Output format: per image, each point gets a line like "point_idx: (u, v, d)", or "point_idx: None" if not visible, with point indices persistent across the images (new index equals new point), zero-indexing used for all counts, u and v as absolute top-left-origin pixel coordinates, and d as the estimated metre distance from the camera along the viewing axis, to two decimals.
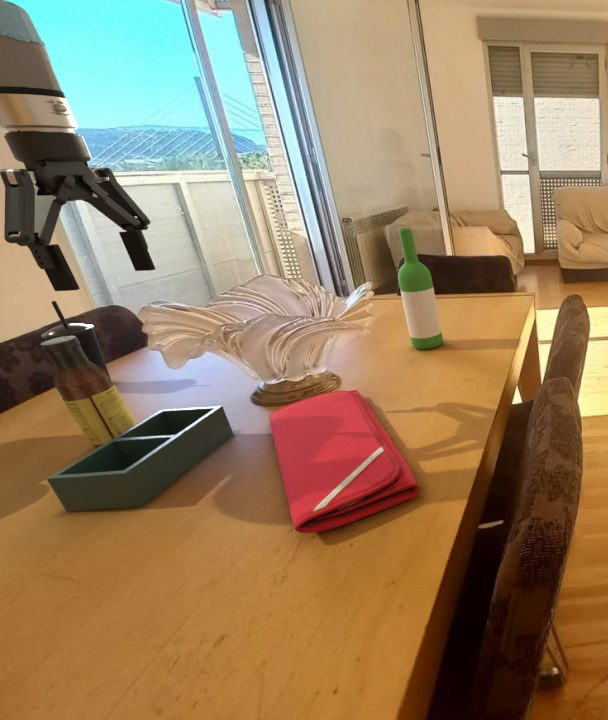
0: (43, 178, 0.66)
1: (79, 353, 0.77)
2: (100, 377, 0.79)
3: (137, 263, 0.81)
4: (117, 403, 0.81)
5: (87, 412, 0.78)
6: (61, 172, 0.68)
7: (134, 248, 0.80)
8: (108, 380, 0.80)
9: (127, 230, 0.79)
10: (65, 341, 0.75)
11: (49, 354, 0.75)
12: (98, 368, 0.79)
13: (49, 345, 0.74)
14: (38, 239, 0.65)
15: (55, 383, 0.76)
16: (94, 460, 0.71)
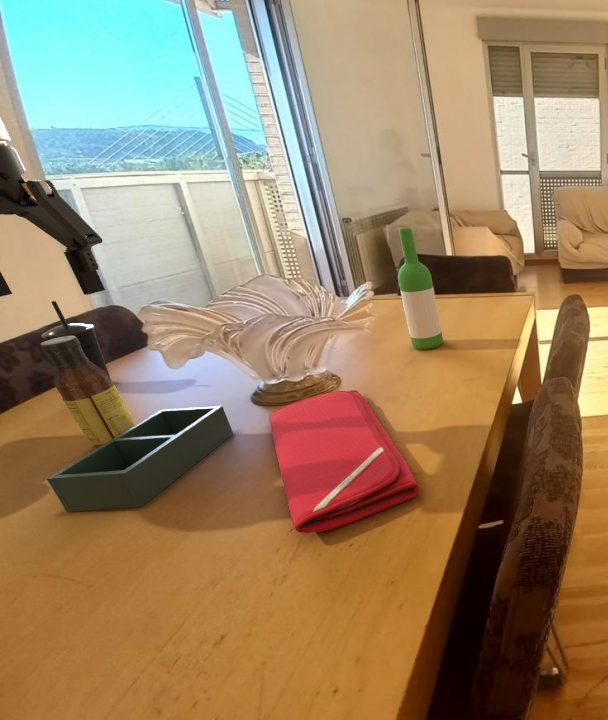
0: None
1: (79, 353, 0.77)
2: (100, 377, 0.79)
3: None
4: (117, 403, 0.81)
5: (87, 412, 0.78)
6: None
7: None
8: (108, 380, 0.80)
9: None
10: (65, 341, 0.75)
11: (49, 354, 0.75)
12: (98, 368, 0.79)
13: (49, 345, 0.74)
14: None
15: (55, 383, 0.76)
16: (94, 460, 0.71)
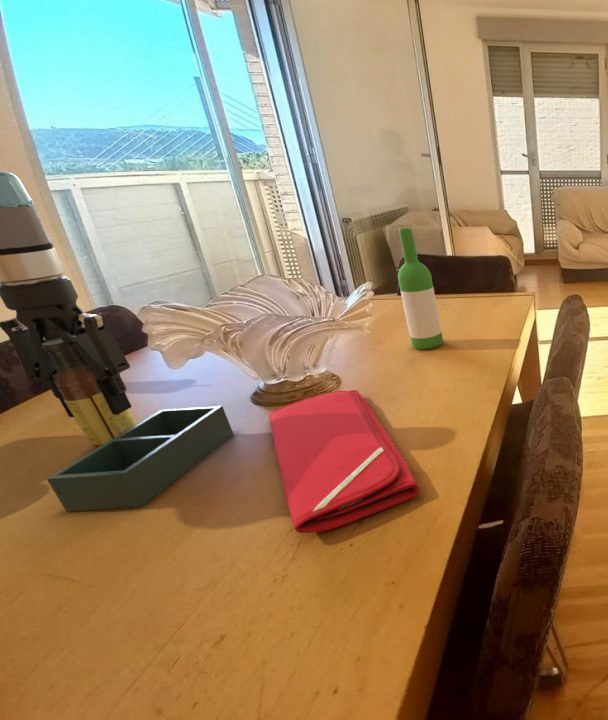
0: None
1: None
2: None
3: None
4: None
5: (87, 412, 0.78)
6: None
7: None
8: None
9: None
10: None
11: (50, 354, 0.75)
12: None
13: (51, 345, 0.74)
14: None
15: (56, 383, 0.76)
16: (94, 460, 0.71)
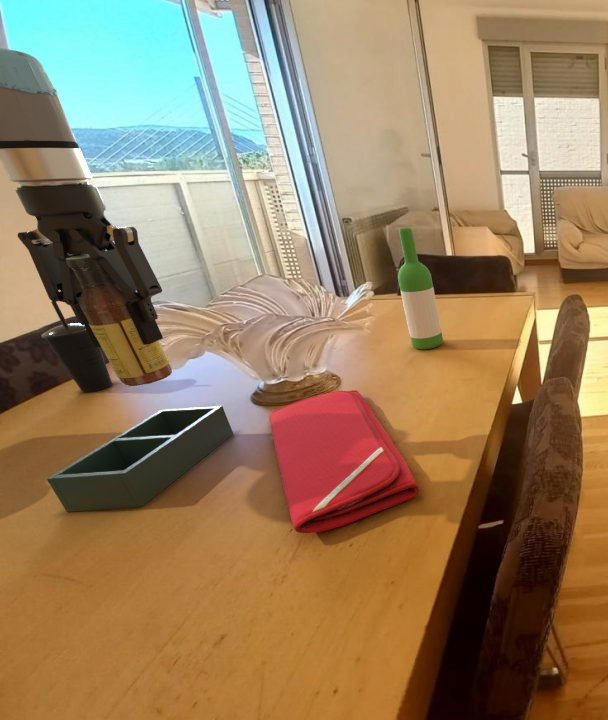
0: None
1: None
2: None
3: None
4: None
5: (116, 340, 0.70)
6: None
7: None
8: None
9: None
10: None
11: (75, 270, 0.67)
12: None
13: (76, 259, 0.66)
14: None
15: (81, 305, 0.68)
16: (94, 460, 0.71)
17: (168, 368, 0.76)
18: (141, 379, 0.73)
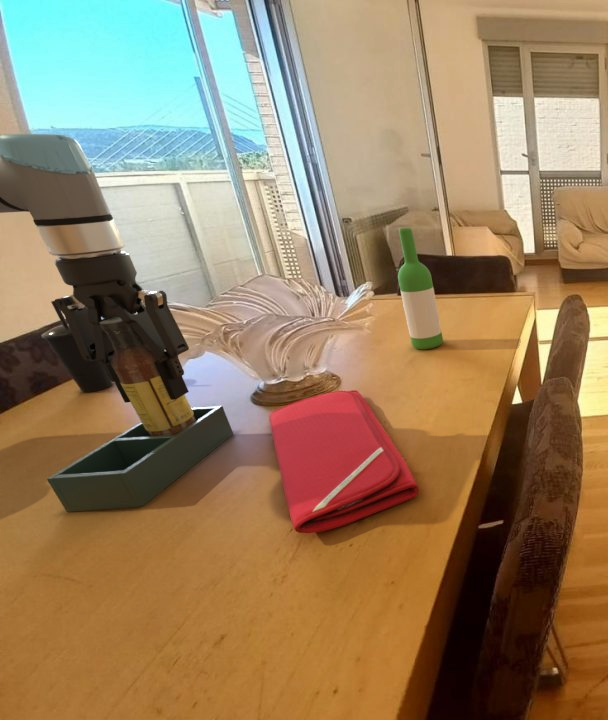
0: None
1: None
2: None
3: None
4: None
5: (145, 397, 0.73)
6: None
7: None
8: None
9: None
10: None
11: (108, 333, 0.70)
12: None
13: (109, 324, 0.69)
14: None
15: (113, 365, 0.72)
16: (94, 460, 0.71)
17: (193, 419, 0.80)
18: (168, 432, 0.77)
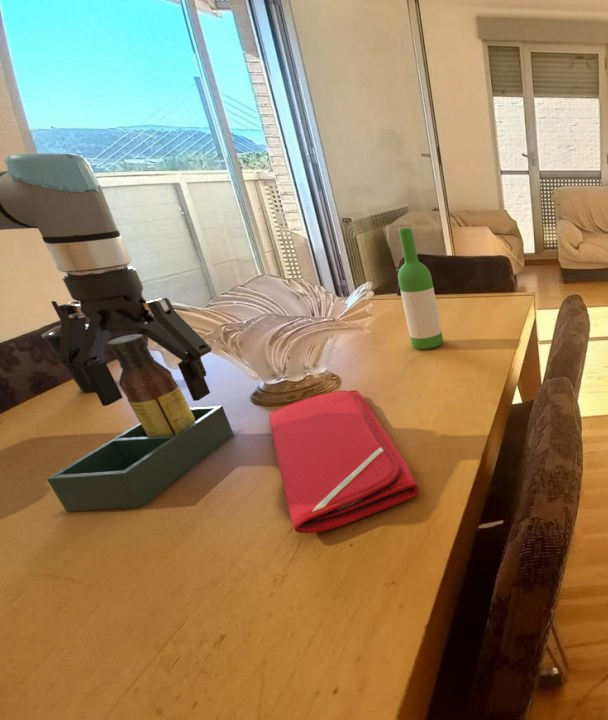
0: None
1: (146, 352, 0.74)
2: (166, 378, 0.75)
3: (109, 396, 0.75)
4: (181, 405, 0.78)
5: (153, 414, 0.75)
6: None
7: (104, 381, 0.75)
8: (173, 381, 0.77)
9: (89, 365, 0.73)
10: (133, 340, 0.72)
11: (116, 353, 0.71)
12: (163, 368, 0.76)
13: (117, 344, 0.71)
14: None
15: (121, 384, 0.73)
16: (94, 460, 0.71)
17: None
18: None
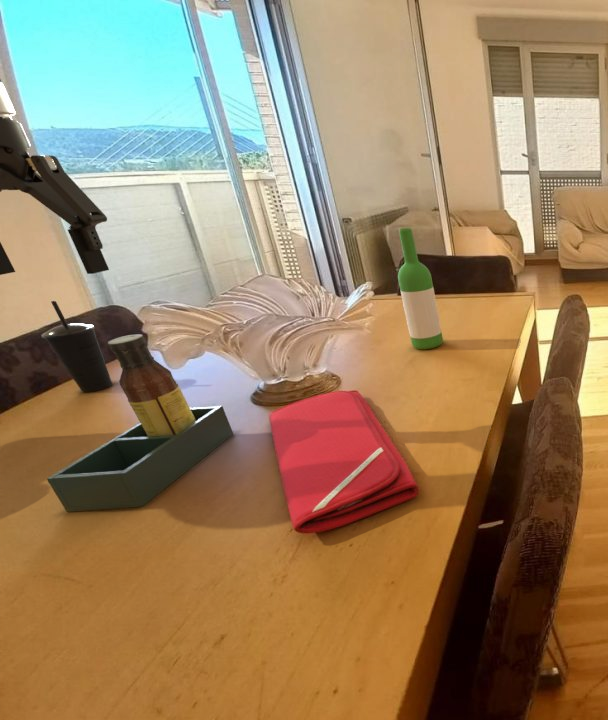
0: None
1: (146, 352, 0.74)
2: (166, 378, 0.75)
3: None
4: (181, 405, 0.78)
5: (153, 414, 0.75)
6: None
7: None
8: (173, 381, 0.77)
9: None
10: (133, 340, 0.72)
11: (116, 353, 0.71)
12: (164, 368, 0.76)
13: (117, 344, 0.71)
14: None
15: (121, 384, 0.73)
16: (94, 460, 0.71)
17: None
18: None
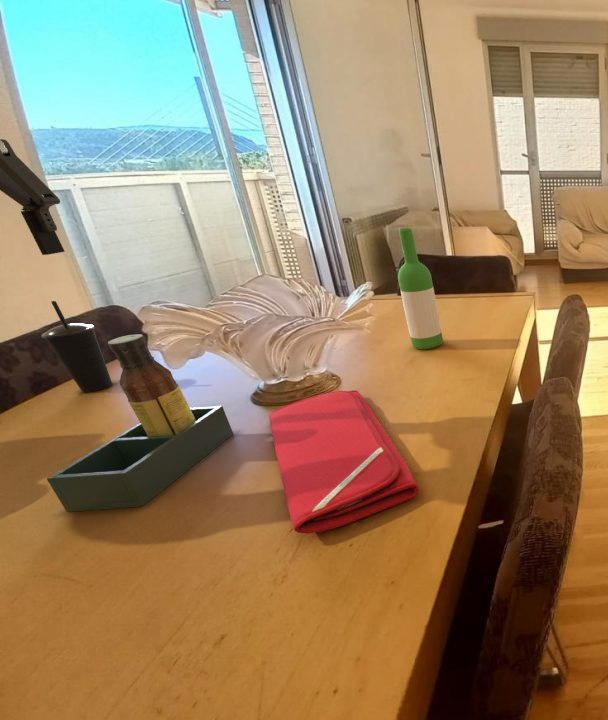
0: None
1: (146, 352, 0.74)
2: (166, 378, 0.75)
3: None
4: (181, 405, 0.78)
5: (153, 414, 0.75)
6: None
7: None
8: (173, 381, 0.77)
9: None
10: (133, 340, 0.72)
11: (117, 353, 0.71)
12: (164, 368, 0.76)
13: (117, 344, 0.71)
14: None
15: (121, 384, 0.73)
16: (94, 460, 0.71)
17: None
18: None
